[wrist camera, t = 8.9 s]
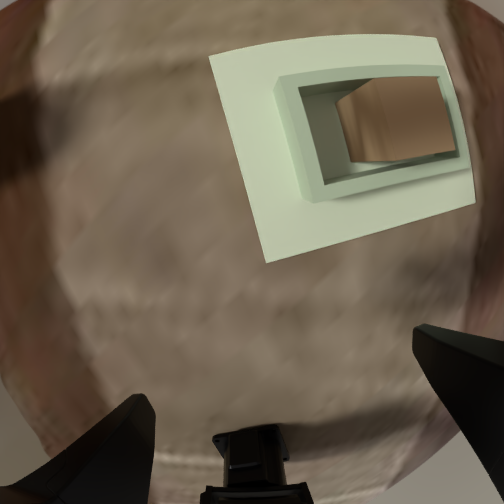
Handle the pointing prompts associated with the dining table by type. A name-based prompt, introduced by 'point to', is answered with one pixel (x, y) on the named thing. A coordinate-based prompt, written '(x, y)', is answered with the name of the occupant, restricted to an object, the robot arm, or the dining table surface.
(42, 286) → the dining table surface
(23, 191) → the dining table surface
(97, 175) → the dining table surface
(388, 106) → the brown wooden block
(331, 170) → the well
